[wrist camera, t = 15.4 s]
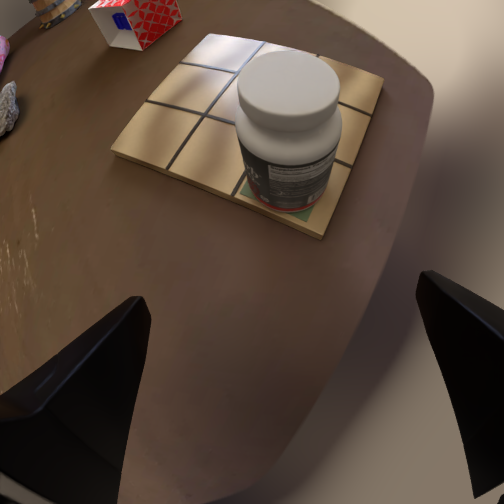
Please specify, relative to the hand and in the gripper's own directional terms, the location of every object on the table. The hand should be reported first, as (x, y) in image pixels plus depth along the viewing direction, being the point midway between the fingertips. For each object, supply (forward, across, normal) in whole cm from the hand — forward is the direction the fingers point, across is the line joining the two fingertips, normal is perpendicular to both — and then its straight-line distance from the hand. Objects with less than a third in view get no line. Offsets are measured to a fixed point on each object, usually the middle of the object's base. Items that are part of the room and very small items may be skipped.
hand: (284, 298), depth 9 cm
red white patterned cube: (+35, +15, -18) cm, 42 cm away
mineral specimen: (+29, +40, -12) cm, 50 cm away
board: (+21, +1, -4) cm, 21 cm away
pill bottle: (+14, -1, +1) cm, 14 cm away
